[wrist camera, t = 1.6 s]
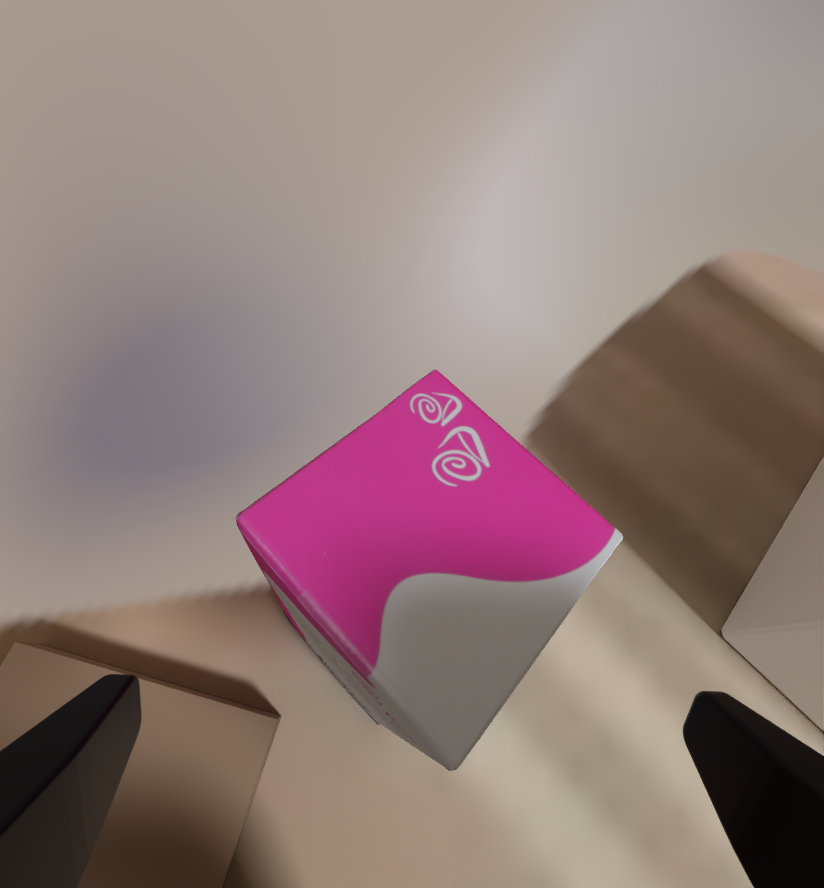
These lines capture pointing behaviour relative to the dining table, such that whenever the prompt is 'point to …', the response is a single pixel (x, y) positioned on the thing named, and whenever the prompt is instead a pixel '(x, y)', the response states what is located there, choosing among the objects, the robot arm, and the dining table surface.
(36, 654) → the walnut riser
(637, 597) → the dining table surface
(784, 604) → the gable box
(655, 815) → the dining table surface
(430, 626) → the supplement box
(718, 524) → the dining table surface
